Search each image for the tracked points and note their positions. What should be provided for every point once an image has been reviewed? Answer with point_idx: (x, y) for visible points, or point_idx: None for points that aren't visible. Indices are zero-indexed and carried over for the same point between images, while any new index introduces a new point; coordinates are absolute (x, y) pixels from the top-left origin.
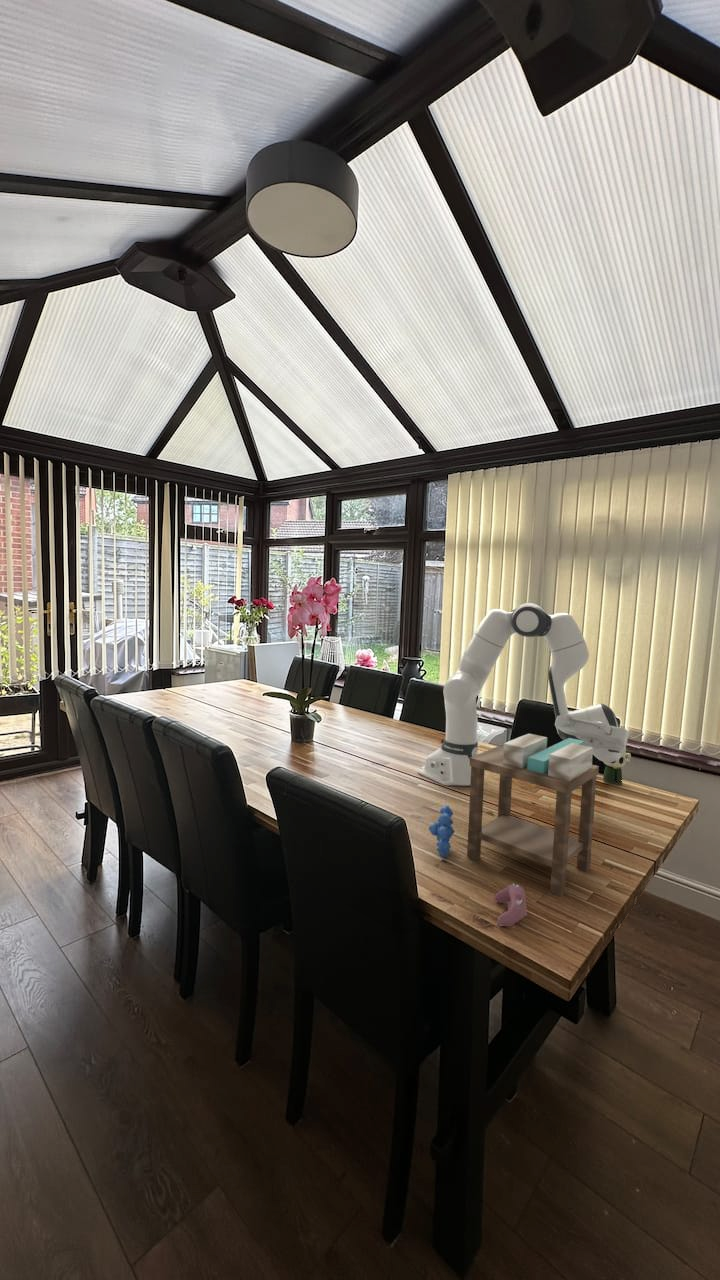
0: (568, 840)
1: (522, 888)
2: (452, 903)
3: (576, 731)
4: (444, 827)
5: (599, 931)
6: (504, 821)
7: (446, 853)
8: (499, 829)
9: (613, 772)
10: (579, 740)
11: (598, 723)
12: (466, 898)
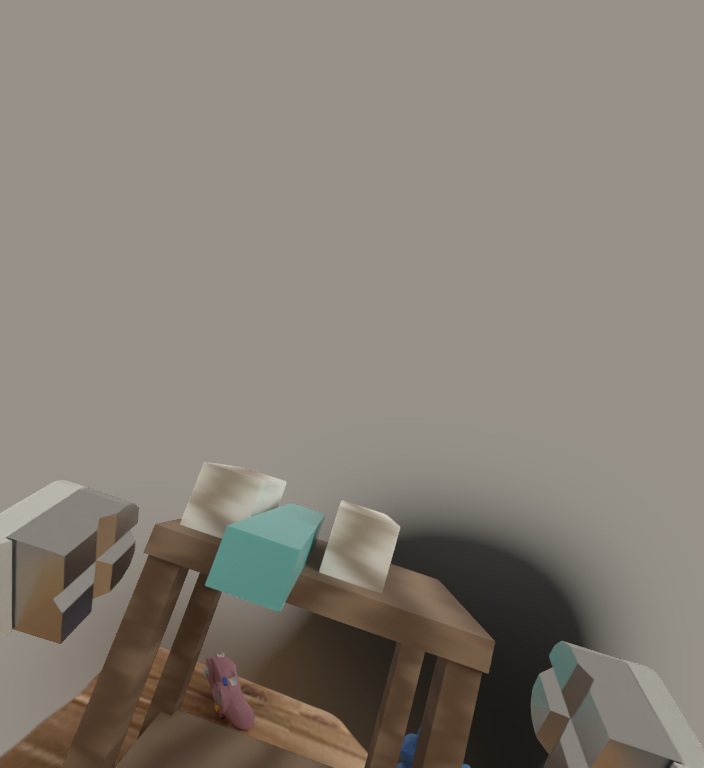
0: (172, 646)
1: (221, 675)
2: (302, 714)
3: None
4: (413, 734)
5: (75, 700)
6: None
7: None
8: None
9: None
10: (248, 531)
11: (126, 519)
12: (291, 727)
